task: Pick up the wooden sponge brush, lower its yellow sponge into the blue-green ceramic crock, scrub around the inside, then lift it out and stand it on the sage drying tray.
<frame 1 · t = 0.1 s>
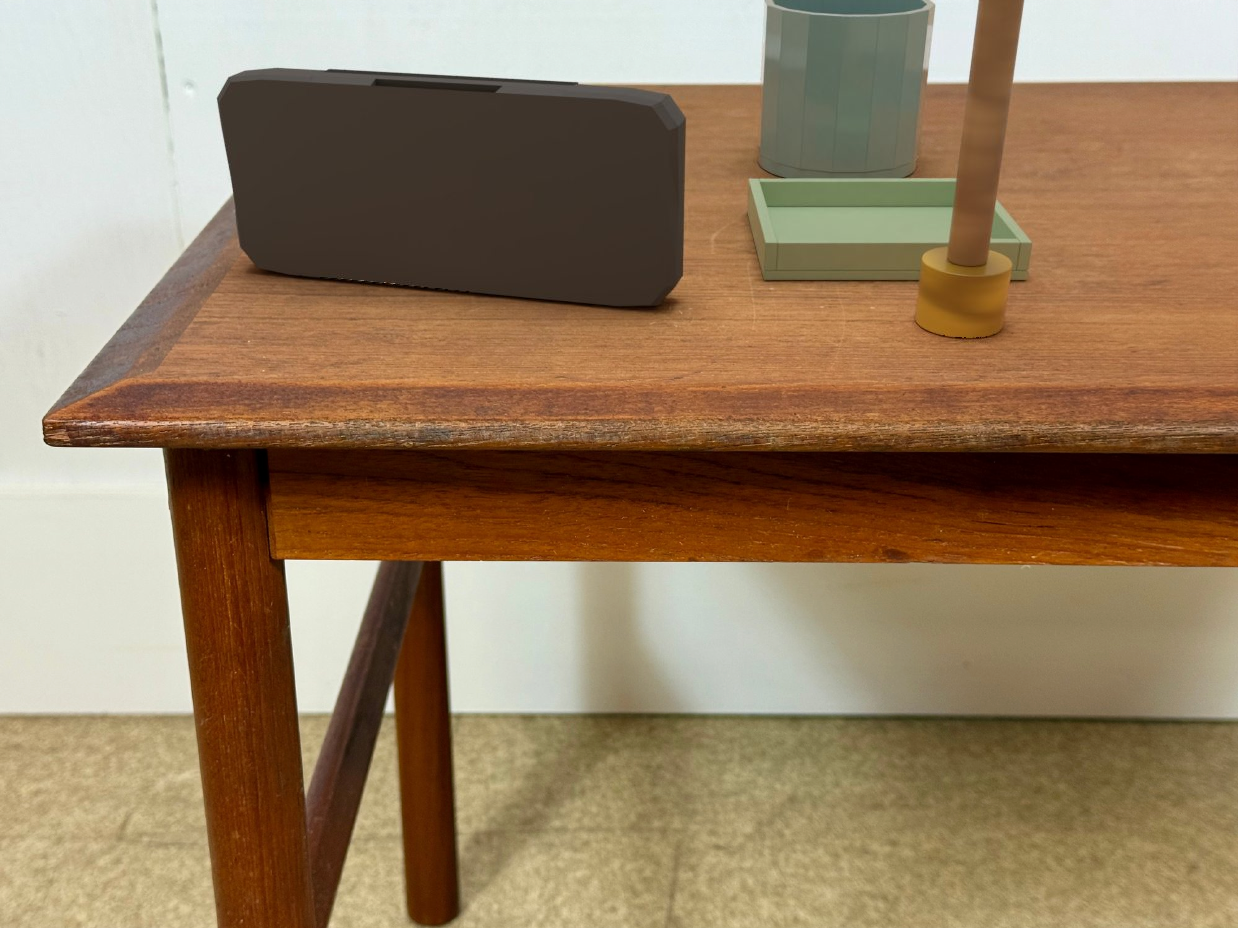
chamfered brown slab: (457, 287, 64), on the table
tray: (876, 243, 69), on the table
crock: (836, 163, 83), on the table
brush: (958, 321, 59), on the table
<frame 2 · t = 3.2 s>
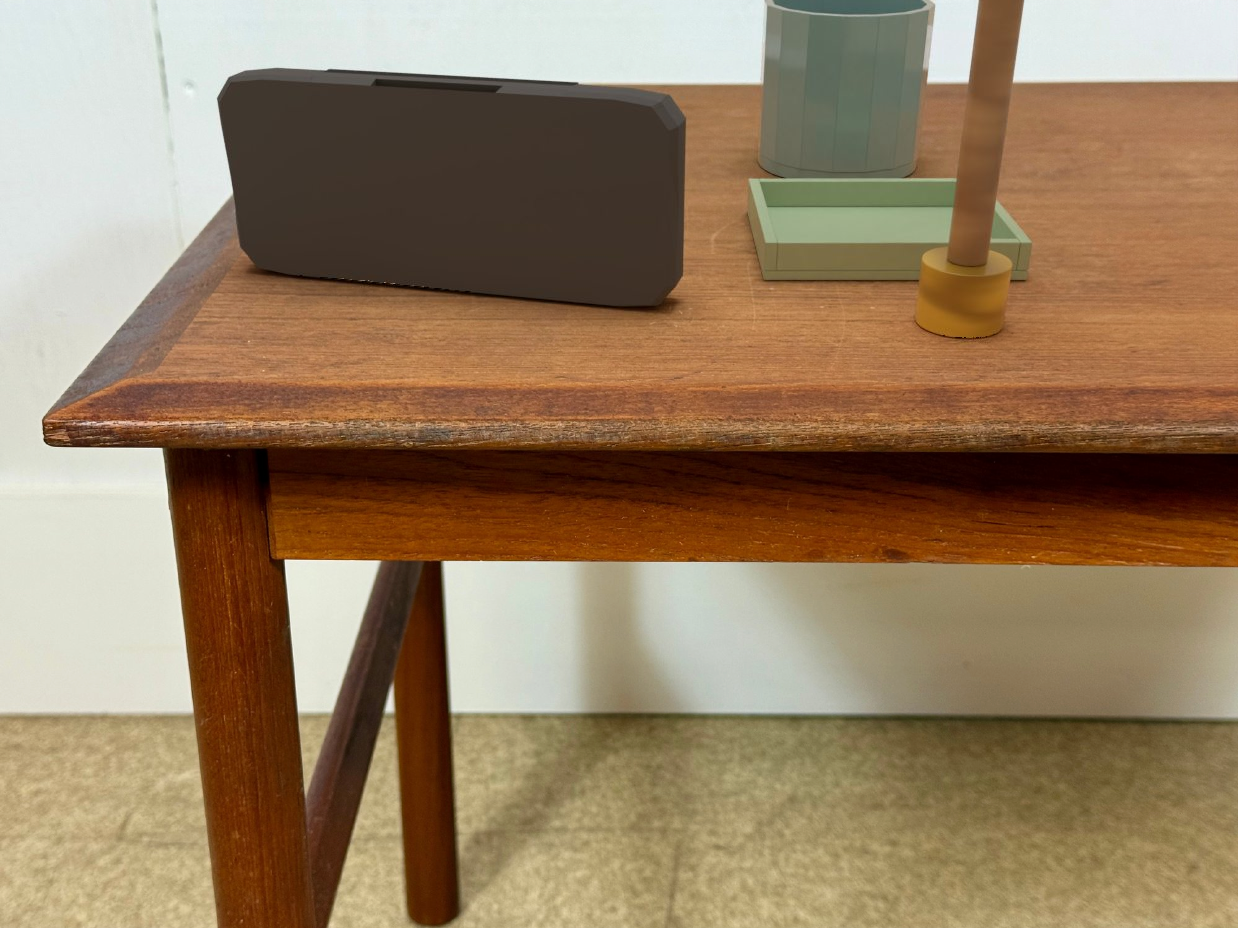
nothing on the table moved.
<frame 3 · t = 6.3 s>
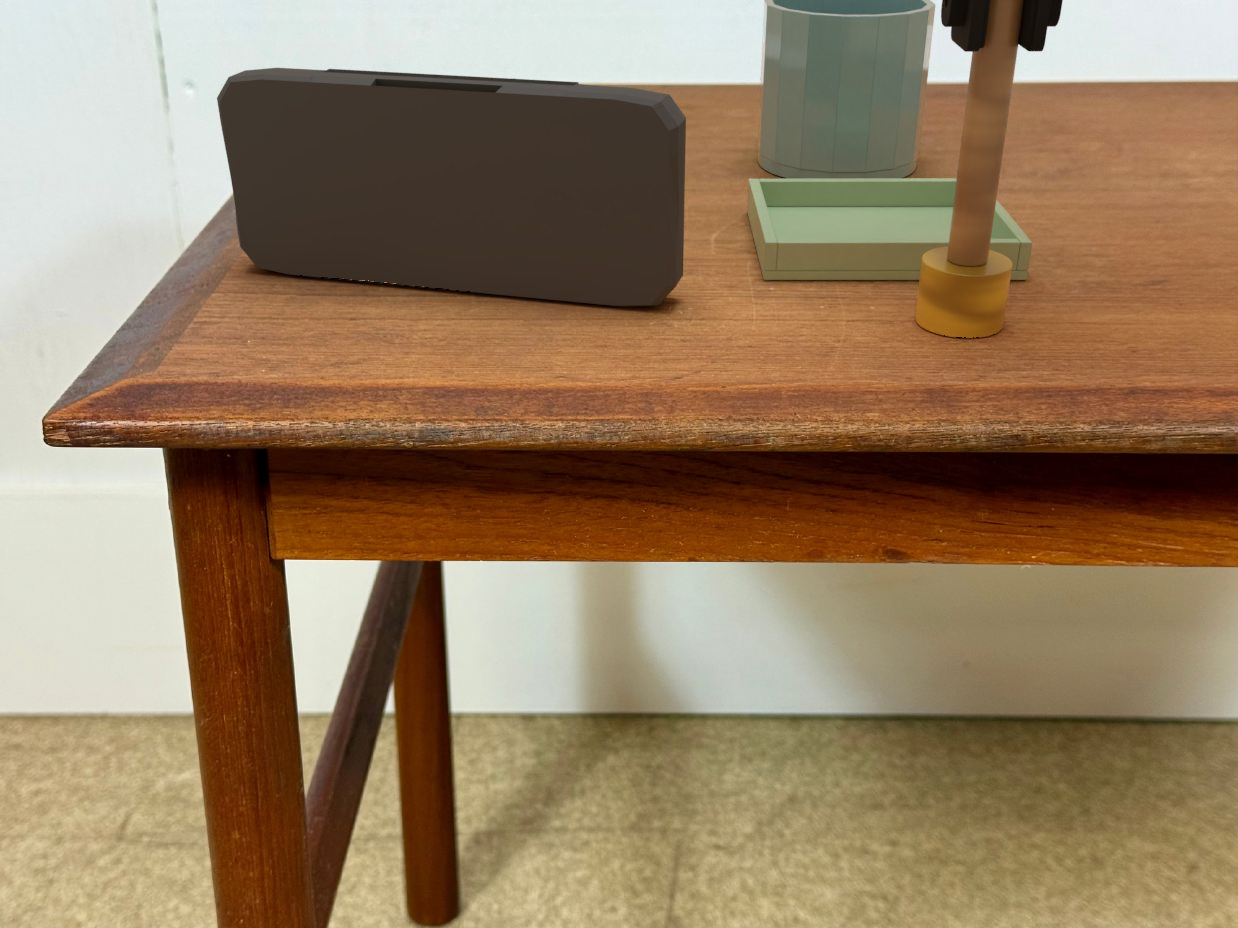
hand: (995, 42, 53), 13 cm above the table, tool pointing down, fingers closed on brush
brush: (958, 321, 59), on the table, touching gripper
everything else where it was.
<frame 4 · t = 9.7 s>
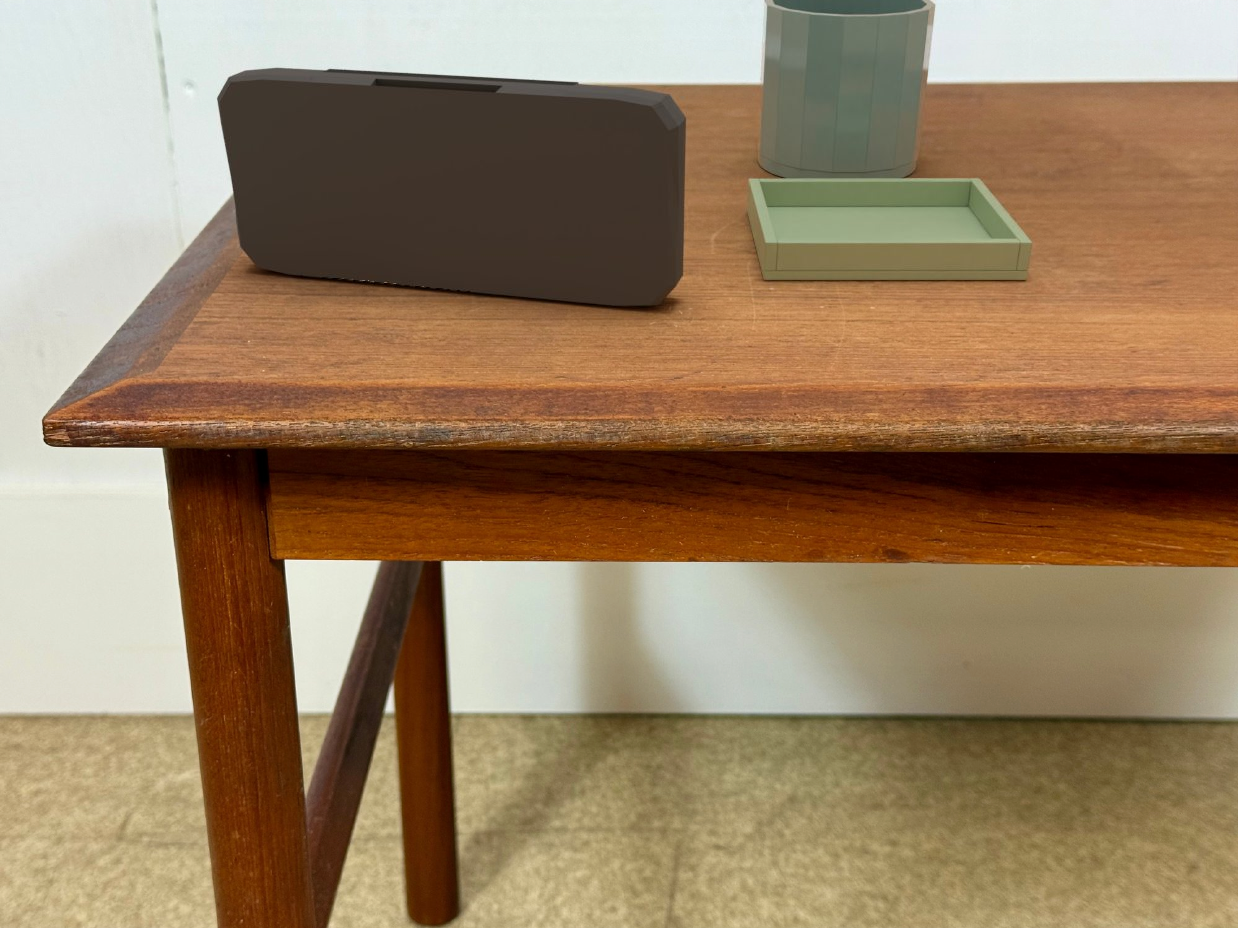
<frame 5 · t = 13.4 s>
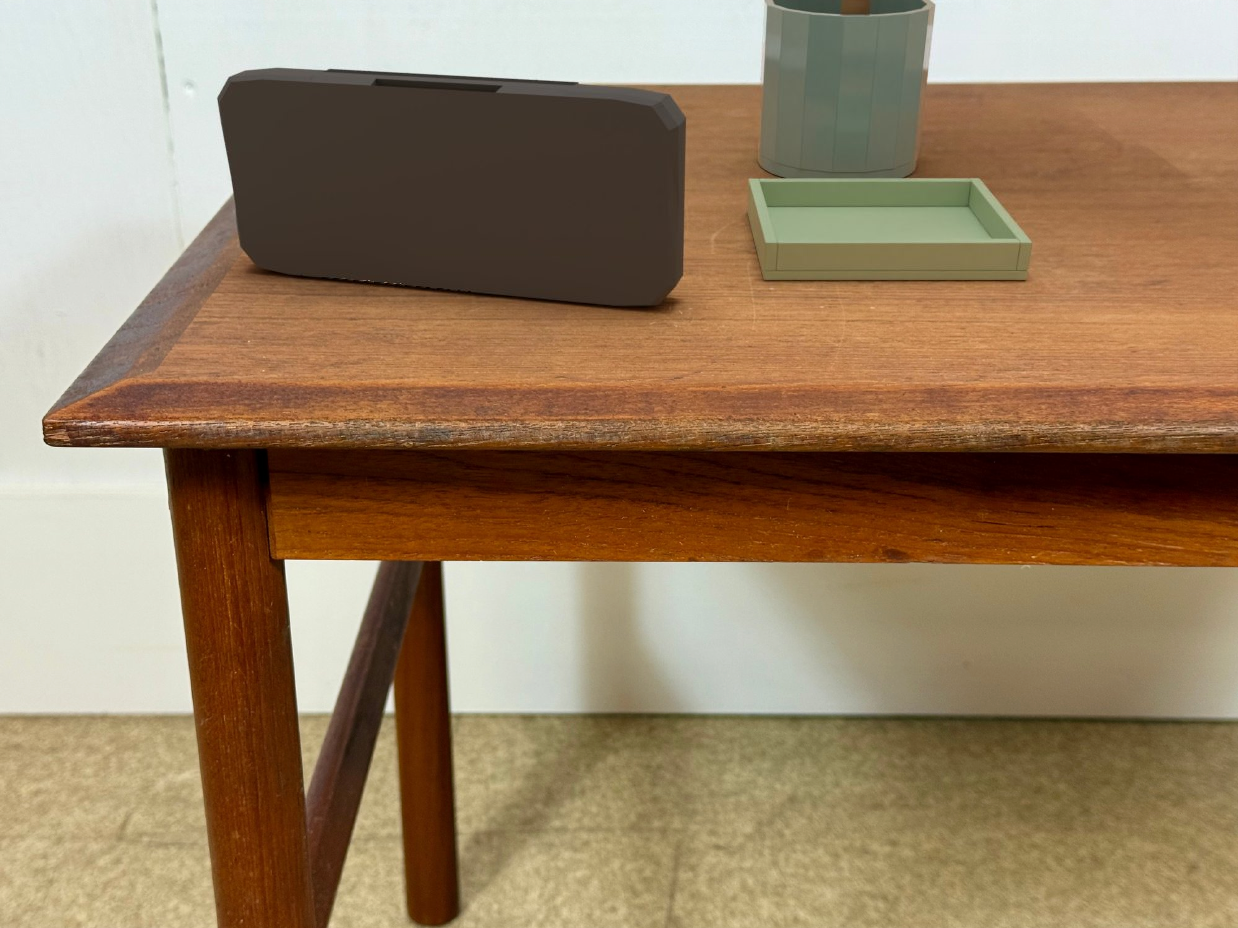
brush: (846, 127, 82), point 2 cm above the table, touching gripper
everything else where it was.
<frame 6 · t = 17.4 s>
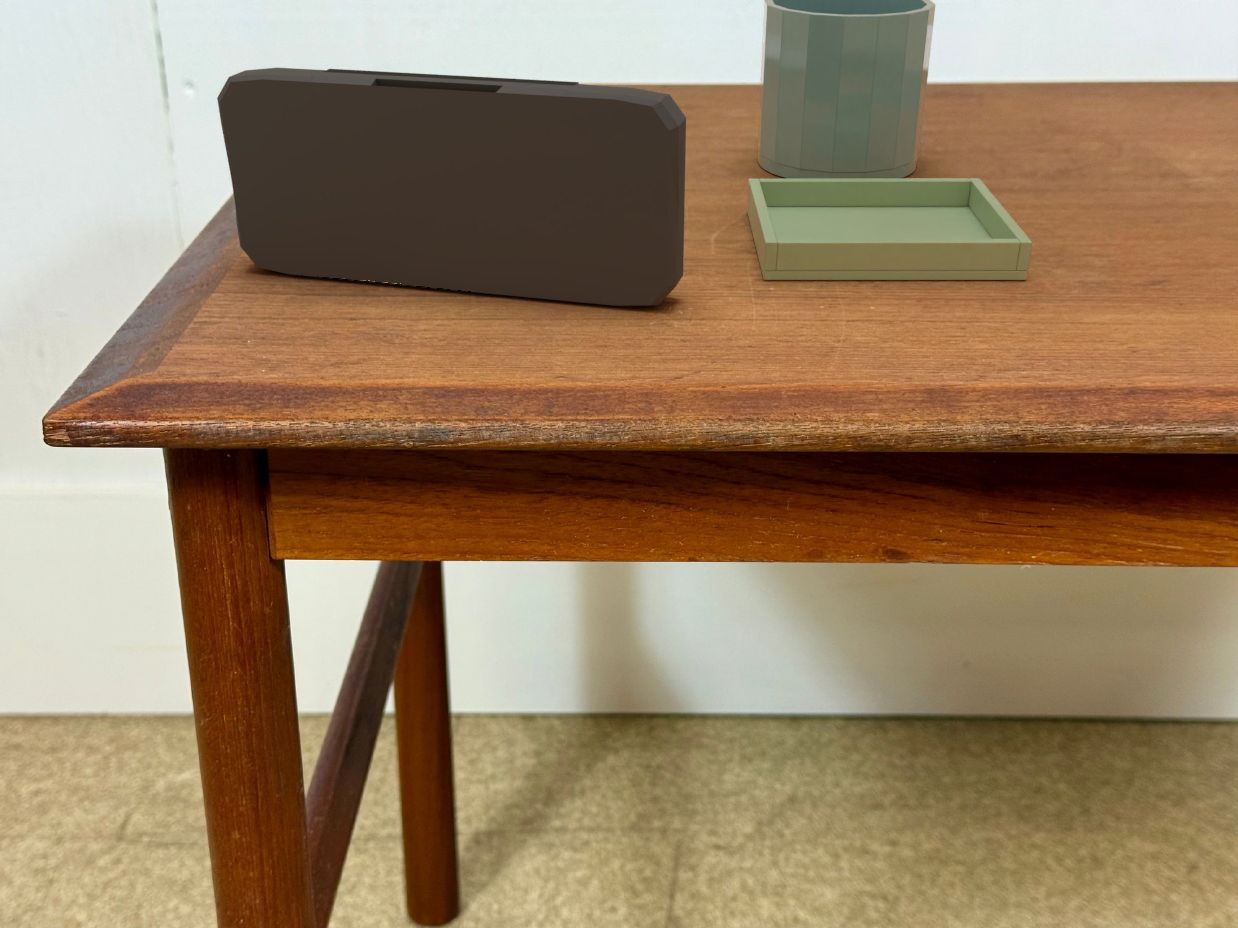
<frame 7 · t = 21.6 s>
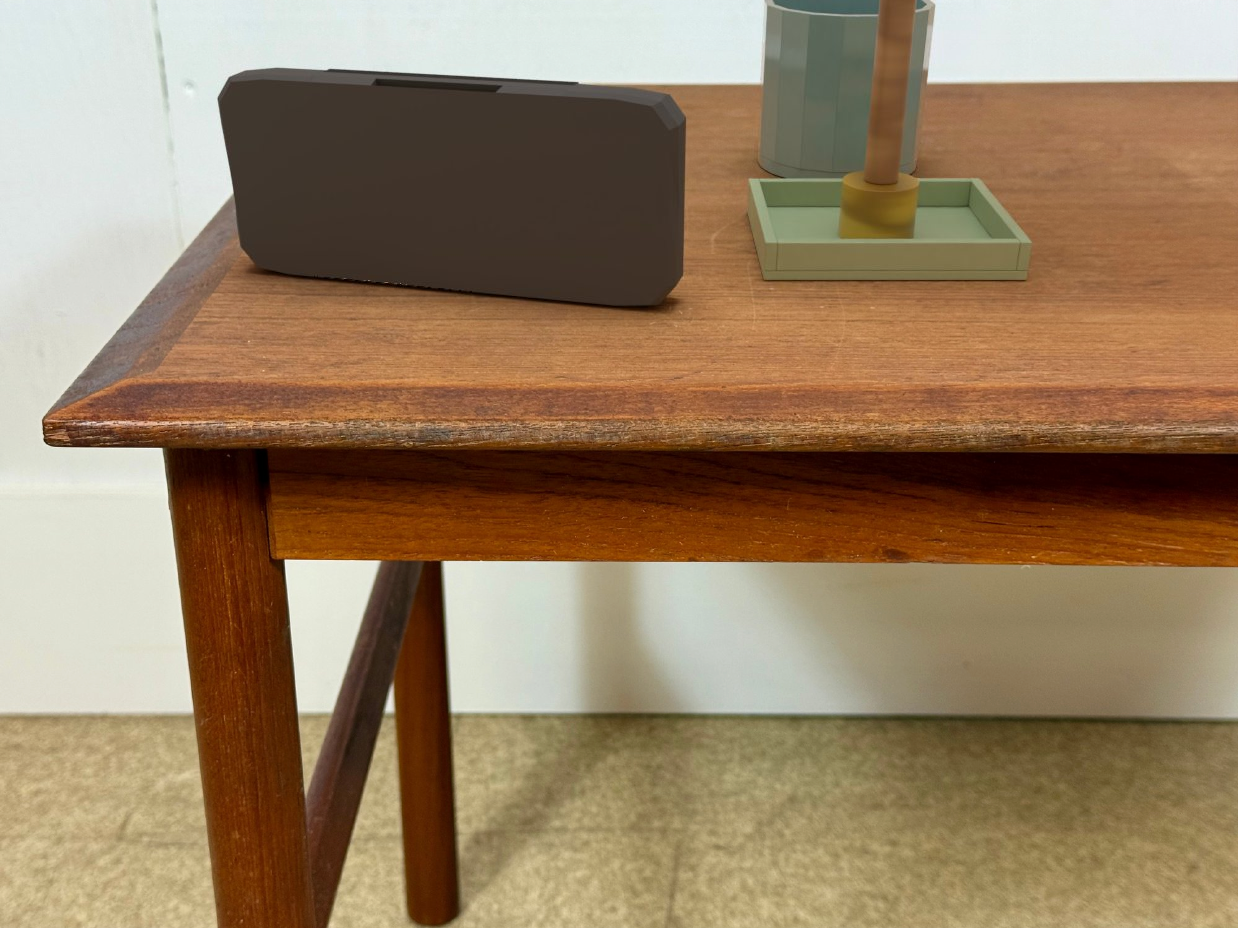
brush: (875, 235, 68), resting on tray
everything else where it was.
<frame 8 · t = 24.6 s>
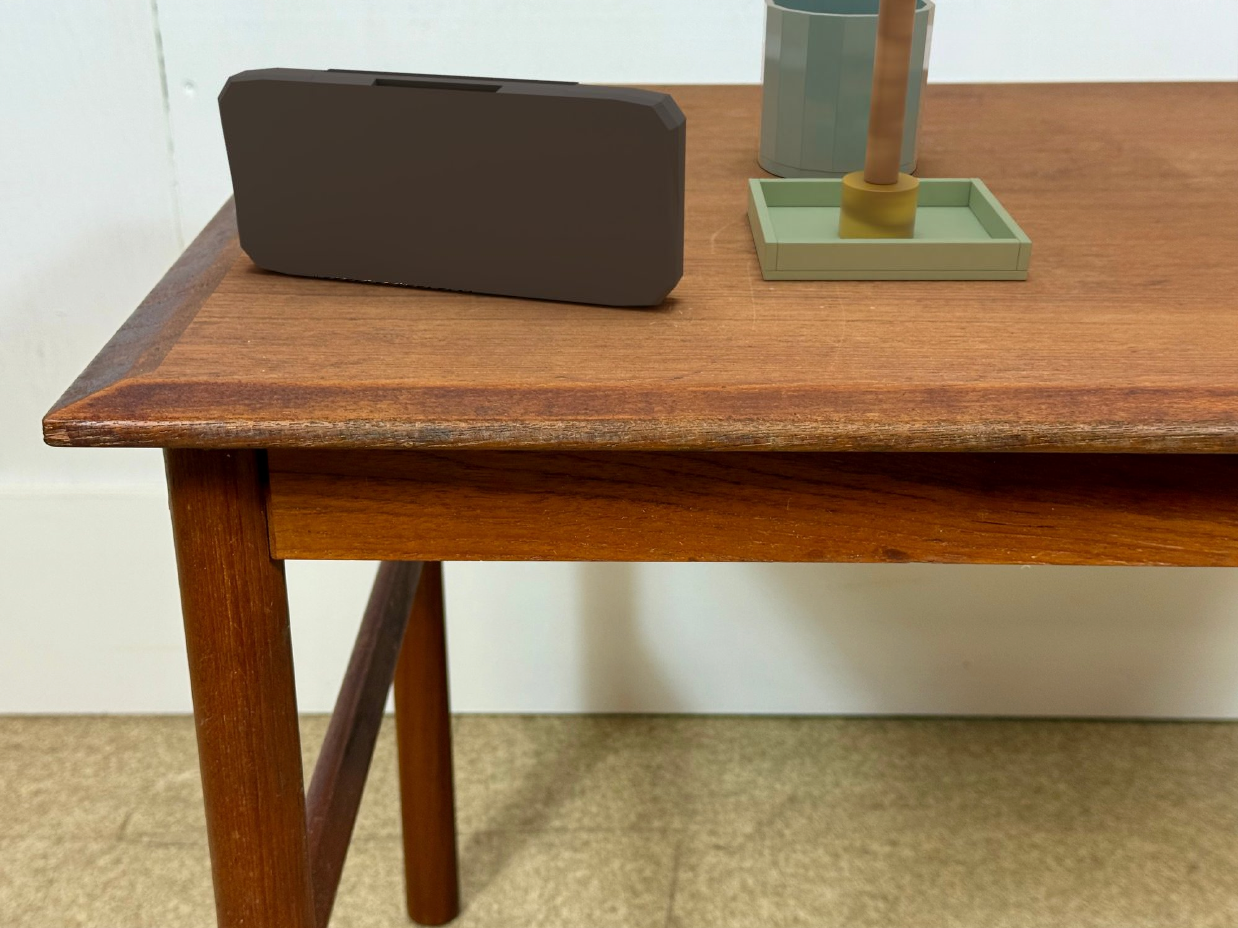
nothing on the table moved.
at the end: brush inside the target area in the tray (0.1 cm from its centre), point 0.5 cm above the tray's base; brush tilted 0° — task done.
